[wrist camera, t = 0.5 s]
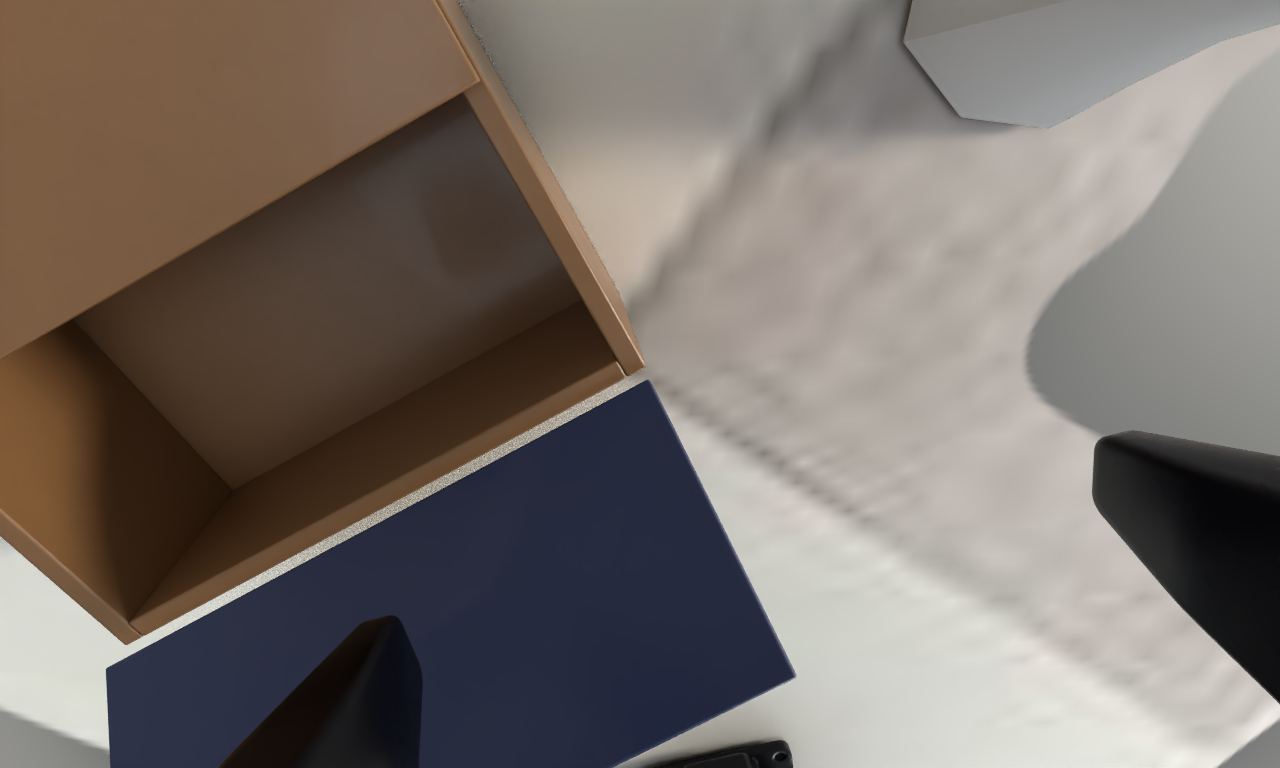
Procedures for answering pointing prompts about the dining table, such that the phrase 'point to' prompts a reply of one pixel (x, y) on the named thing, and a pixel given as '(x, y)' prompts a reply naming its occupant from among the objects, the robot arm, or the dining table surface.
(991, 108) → the flask
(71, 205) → the carton
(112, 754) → the flap
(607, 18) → the dining table surface
